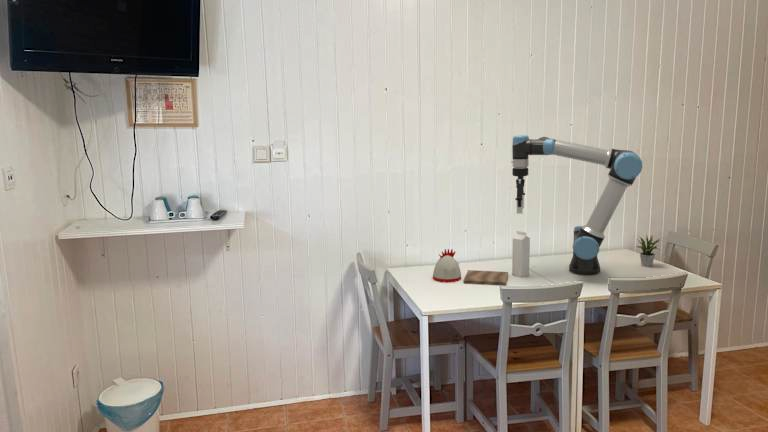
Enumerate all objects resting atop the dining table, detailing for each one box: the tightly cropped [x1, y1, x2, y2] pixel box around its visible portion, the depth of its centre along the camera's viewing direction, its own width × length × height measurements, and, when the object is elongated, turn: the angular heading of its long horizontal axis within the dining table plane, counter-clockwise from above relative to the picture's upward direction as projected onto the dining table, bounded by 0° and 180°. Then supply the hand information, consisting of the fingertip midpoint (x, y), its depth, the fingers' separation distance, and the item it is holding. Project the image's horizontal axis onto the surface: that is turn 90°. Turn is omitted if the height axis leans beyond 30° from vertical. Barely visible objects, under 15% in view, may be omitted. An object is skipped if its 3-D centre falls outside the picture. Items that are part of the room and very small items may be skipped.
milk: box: [511, 230, 531, 278], centre depth 308 cm, size 6×6×22 cm
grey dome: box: [432, 248, 462, 283], centre depth 306 cm, size 14×14×15 cm
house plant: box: [635, 234, 663, 268], centre depth 318 cm, size 14×14×16 cm
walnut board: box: [462, 269, 509, 286], centre depth 304 cm, size 20×18×2 cm
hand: (520, 210), depth 304 cm, fingers open, 13 cm apart
